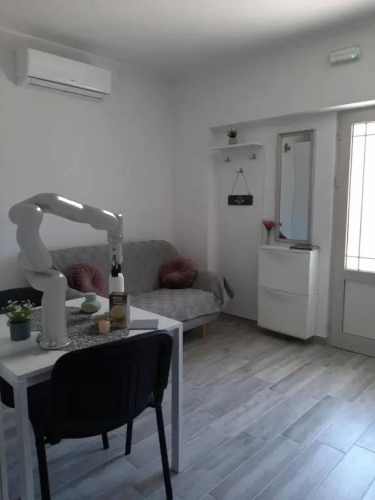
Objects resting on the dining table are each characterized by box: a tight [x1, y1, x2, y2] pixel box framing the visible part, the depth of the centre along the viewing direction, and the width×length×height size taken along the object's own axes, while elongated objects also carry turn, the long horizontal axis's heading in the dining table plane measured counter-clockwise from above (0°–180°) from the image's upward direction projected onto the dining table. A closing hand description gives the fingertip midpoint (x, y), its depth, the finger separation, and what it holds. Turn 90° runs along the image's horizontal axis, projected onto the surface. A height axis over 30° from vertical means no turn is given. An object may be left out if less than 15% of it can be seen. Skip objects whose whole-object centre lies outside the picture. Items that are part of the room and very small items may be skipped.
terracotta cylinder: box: [98, 320, 111, 335], centre depth 179 cm, size 5×5×5 cm
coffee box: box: [108, 291, 131, 329], centre depth 188 cm, size 9×6×16 cm
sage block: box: [103, 308, 109, 320], centre depth 197 cm, size 5×5×5 cm
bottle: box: [108, 272, 125, 295], centre depth 207 cm, size 8×8×30 cm
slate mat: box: [129, 318, 159, 331], centre depth 189 cm, size 13×13×1 cm
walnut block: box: [94, 314, 107, 329], centre depth 188 cm, size 5×5×5 cm
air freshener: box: [80, 291, 102, 314], centre depth 213 cm, size 11×8×10 cm
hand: (116, 275), depth 187 cm, fingers open, 9 cm apart
